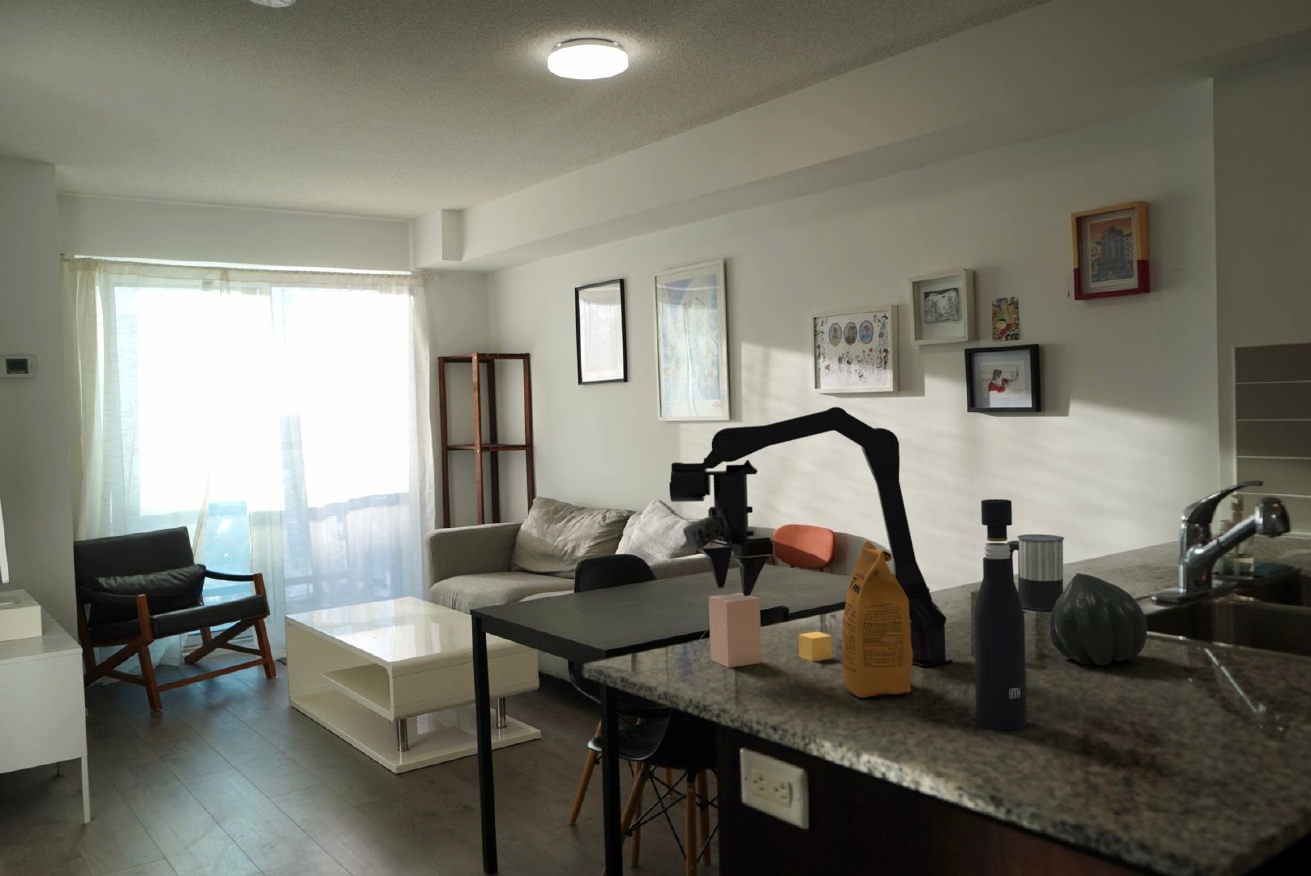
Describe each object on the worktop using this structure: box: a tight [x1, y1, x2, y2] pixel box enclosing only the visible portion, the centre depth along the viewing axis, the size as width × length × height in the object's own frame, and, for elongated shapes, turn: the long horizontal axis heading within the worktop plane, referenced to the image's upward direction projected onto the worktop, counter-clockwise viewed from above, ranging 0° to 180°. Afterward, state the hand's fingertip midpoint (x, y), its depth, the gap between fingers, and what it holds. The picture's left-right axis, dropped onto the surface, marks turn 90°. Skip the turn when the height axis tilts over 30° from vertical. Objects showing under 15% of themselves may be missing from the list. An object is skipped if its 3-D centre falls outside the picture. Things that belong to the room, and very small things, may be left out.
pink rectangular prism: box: [708, 592, 762, 635], centre depth 173 cm, size 6×6×6 cm
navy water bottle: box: [973, 498, 1028, 731], centre depth 135 cm, size 6×6×30 cm
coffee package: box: [841, 541, 913, 699], centre depth 153 cm, size 10×12×22 cm
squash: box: [1048, 572, 1148, 667], centre depth 167 cm, size 14×15×15 cm
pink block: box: [709, 628, 762, 669], centre depth 173 cm, size 6×6×6 cm
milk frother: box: [1006, 533, 1066, 612], centre depth 209 cm, size 14×16×15 cm
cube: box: [798, 631, 833, 662], centre depth 174 cm, size 4×4×4 cm
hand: (733, 591), depth 173 cm, fingers open, 9 cm apart
